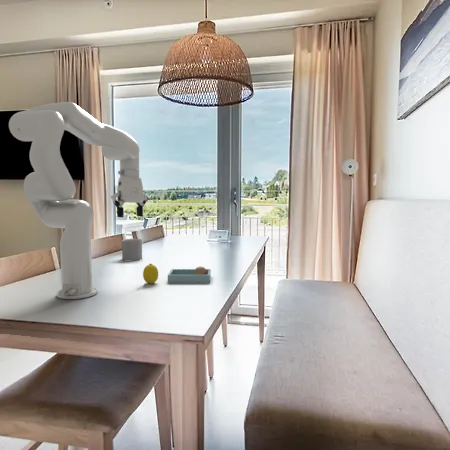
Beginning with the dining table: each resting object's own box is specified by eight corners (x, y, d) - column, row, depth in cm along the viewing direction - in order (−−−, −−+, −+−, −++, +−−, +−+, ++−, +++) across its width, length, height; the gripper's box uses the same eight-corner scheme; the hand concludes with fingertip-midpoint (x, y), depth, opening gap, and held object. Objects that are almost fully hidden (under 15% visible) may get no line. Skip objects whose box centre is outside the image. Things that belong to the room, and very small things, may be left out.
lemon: (151, 282, 140) (151, 261, 139) (161, 284, 137) (161, 263, 136) (140, 285, 136) (139, 263, 135) (149, 287, 132) (149, 265, 132)
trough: (209, 284, 137) (209, 275, 136) (167, 284, 137) (167, 275, 136) (210, 277, 148) (210, 269, 148) (171, 277, 148) (171, 269, 147)
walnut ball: (206, 280, 140) (206, 267, 139) (193, 280, 140) (193, 267, 139) (207, 277, 145) (207, 265, 144) (194, 277, 145) (194, 265, 144)
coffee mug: (139, 260, 185) (138, 241, 184) (119, 260, 185) (119, 241, 185) (146, 256, 198) (145, 238, 197) (127, 256, 199) (127, 237, 198)
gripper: (117, 172, 140) (118, 217, 141) (152, 175, 153) (152, 216, 154) (105, 173, 144) (106, 217, 145) (140, 176, 158) (141, 215, 159)
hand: (130, 216), depth 150 cm, fingers open, 9 cm apart
